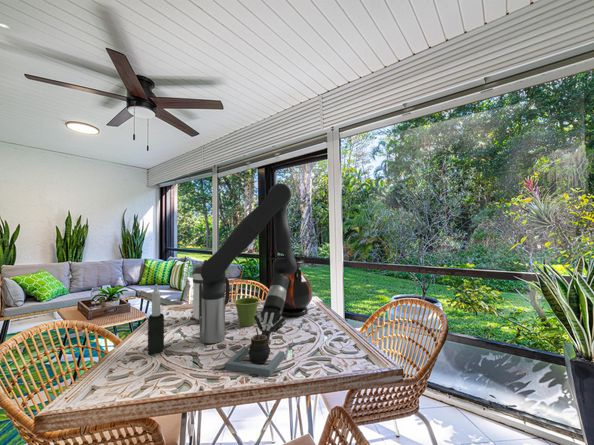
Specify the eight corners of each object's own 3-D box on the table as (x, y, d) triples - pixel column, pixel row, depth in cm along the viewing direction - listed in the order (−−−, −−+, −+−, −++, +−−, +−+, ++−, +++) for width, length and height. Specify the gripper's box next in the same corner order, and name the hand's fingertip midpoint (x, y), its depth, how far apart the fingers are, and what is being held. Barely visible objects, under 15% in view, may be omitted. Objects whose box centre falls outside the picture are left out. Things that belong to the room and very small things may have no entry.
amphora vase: (267, 309, 157) (267, 259, 158) (302, 305, 166) (301, 257, 167) (281, 321, 137) (281, 264, 138) (320, 315, 146) (319, 261, 147)
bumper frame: (224, 369, 91) (224, 362, 91) (244, 352, 103) (244, 346, 103) (269, 376, 86) (269, 369, 86) (284, 357, 99) (284, 351, 99)
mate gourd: (254, 367, 91) (253, 336, 92) (245, 359, 98) (244, 330, 98) (273, 361, 95) (273, 332, 96) (263, 354, 102) (263, 326, 102)
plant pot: (229, 327, 129) (229, 303, 129) (241, 319, 140) (240, 297, 141) (253, 329, 126) (253, 304, 126) (263, 321, 138) (263, 298, 138)
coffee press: (214, 325, 132) (214, 261, 133) (184, 323, 135) (183, 261, 136) (230, 314, 149) (229, 258, 150) (202, 313, 152) (202, 257, 153)
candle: (149, 349, 106) (149, 283, 107) (164, 347, 108) (164, 282, 109) (147, 355, 101) (147, 285, 102) (162, 353, 103) (163, 284, 104)
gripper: (257, 293, 111) (243, 336, 99) (289, 295, 108) (278, 339, 96) (263, 303, 116) (250, 345, 104) (293, 305, 113) (283, 348, 101)
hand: (263, 342), depth 100 cm, fingers closed
